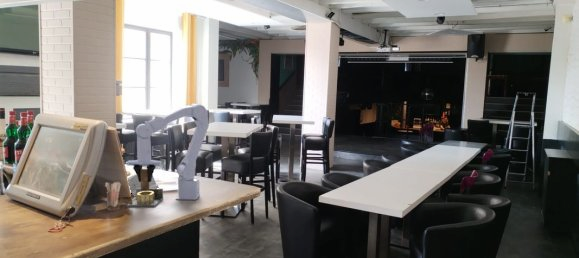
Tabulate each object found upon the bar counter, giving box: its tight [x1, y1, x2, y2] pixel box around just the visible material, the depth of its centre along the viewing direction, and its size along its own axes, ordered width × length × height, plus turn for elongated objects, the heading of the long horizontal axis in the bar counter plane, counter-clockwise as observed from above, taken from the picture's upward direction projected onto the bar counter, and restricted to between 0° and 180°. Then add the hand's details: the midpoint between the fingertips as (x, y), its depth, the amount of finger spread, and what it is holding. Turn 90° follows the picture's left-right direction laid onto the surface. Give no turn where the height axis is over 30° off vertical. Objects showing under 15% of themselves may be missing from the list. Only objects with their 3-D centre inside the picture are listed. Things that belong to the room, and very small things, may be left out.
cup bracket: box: [127, 188, 164, 208], centre depth 189 cm, size 12×12×5 cm
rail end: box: [140, 168, 149, 190], centre depth 188 cm, size 4×4×9 cm
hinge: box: [127, 173, 160, 197], centre depth 208 cm, size 17×5×10 cm, turn 152°
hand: (145, 181), depth 188 cm, fingers closed on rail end, 3 cm apart
